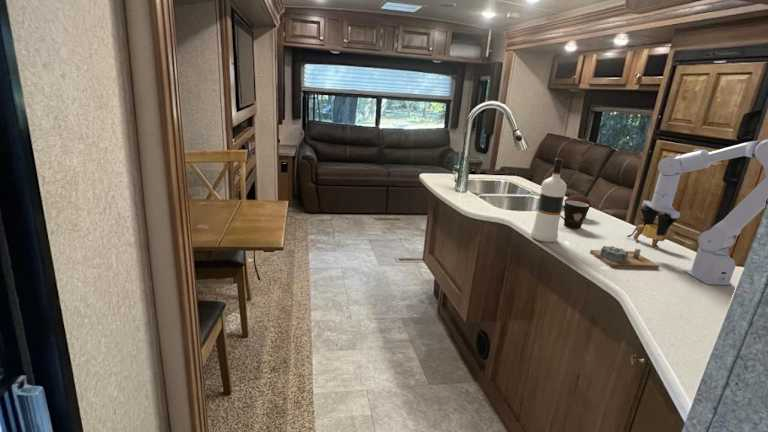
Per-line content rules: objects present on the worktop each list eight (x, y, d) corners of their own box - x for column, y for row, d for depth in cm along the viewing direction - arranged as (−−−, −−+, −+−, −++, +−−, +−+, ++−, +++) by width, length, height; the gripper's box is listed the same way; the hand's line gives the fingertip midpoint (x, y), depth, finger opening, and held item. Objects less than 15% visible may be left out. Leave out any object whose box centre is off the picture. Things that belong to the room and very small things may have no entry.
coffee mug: (584, 226, 169) (589, 203, 166) (581, 231, 162) (587, 207, 159) (555, 220, 175) (560, 198, 172) (551, 225, 168) (556, 202, 165)
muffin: (581, 222, 175) (586, 200, 172) (556, 215, 183) (561, 194, 180) (592, 218, 183) (597, 196, 180) (568, 211, 191) (572, 191, 188)
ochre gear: (665, 240, 135) (668, 230, 134) (650, 239, 135) (653, 229, 134) (653, 234, 141) (656, 224, 139) (639, 233, 140) (641, 223, 139)
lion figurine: (670, 249, 149) (677, 226, 146) (664, 252, 146) (671, 228, 143) (629, 236, 160) (635, 215, 157) (622, 238, 157) (628, 216, 154)
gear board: (658, 269, 129) (661, 257, 128) (611, 267, 127) (614, 255, 126) (633, 254, 141) (636, 243, 139) (589, 253, 139) (592, 241, 138)
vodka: (525, 235, 153) (539, 156, 144) (545, 233, 156) (560, 156, 147) (541, 243, 145) (558, 160, 136) (562, 242, 148) (579, 161, 139)
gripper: (693, 199, 127) (681, 240, 131) (659, 188, 140) (649, 225, 144) (672, 198, 126) (660, 239, 130) (640, 187, 140) (631, 225, 144)
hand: (653, 232), depth 137 cm, fingers closed on ochre gear, 6 cm apart
